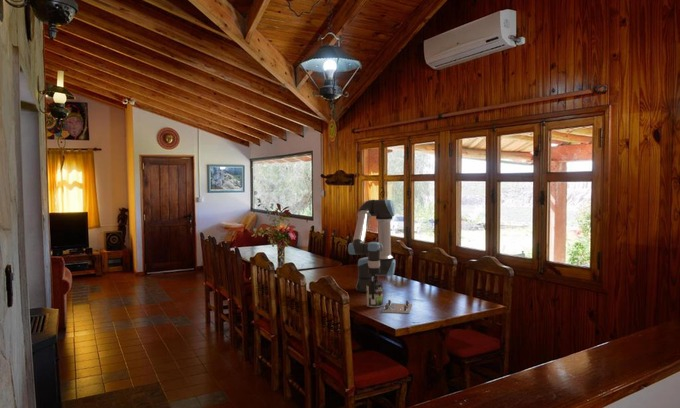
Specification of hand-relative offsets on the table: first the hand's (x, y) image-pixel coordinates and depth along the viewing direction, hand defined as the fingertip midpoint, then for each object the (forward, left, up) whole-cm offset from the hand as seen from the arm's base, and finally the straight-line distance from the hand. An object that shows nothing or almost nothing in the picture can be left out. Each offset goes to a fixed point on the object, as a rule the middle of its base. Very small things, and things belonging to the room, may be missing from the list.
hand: (374, 302), depth 313 cm
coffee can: (0, 0, -2) cm, 2 cm away
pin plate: (+6, +15, -2) cm, 16 cm away
